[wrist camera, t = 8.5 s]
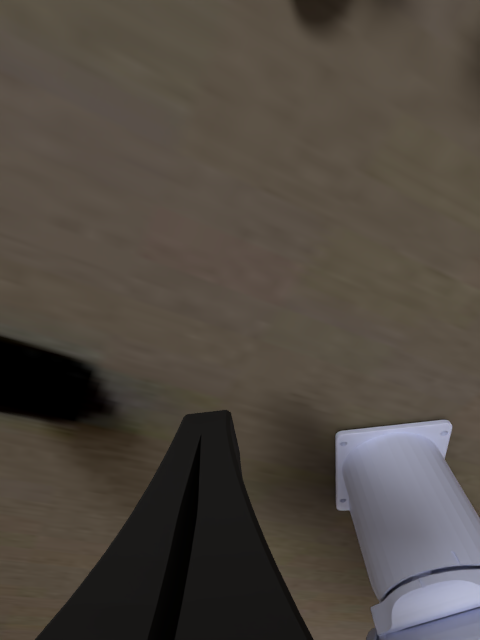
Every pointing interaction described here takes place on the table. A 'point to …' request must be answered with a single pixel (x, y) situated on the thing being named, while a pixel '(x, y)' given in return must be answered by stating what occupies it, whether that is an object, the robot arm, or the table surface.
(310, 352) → the table surface
